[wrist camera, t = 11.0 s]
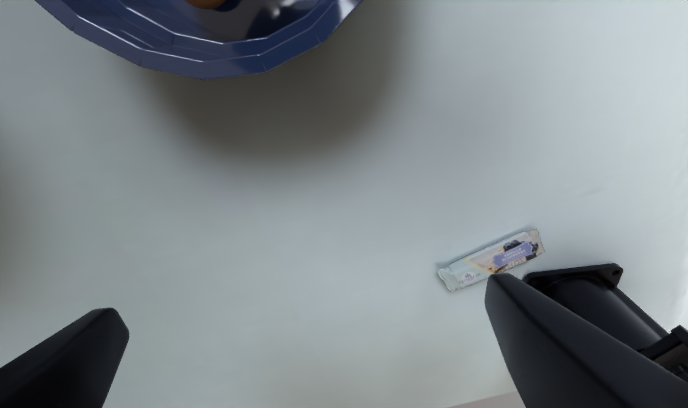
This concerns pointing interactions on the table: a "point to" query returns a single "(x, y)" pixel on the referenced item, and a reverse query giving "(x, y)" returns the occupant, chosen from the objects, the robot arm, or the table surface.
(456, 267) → the granola bar
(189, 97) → the table surface
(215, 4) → the croissant
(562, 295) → the robot arm
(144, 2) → the bowl
